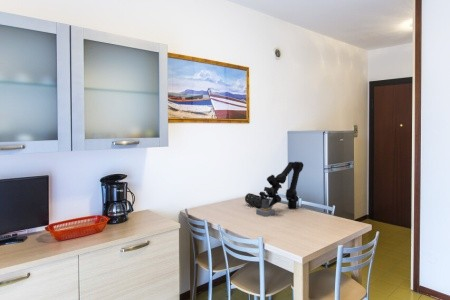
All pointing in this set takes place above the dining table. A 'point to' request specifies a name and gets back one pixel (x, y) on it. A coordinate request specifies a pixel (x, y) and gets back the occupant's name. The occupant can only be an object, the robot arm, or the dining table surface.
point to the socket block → (265, 212)
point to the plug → (265, 204)
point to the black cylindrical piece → (255, 200)
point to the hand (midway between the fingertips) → (264, 205)
